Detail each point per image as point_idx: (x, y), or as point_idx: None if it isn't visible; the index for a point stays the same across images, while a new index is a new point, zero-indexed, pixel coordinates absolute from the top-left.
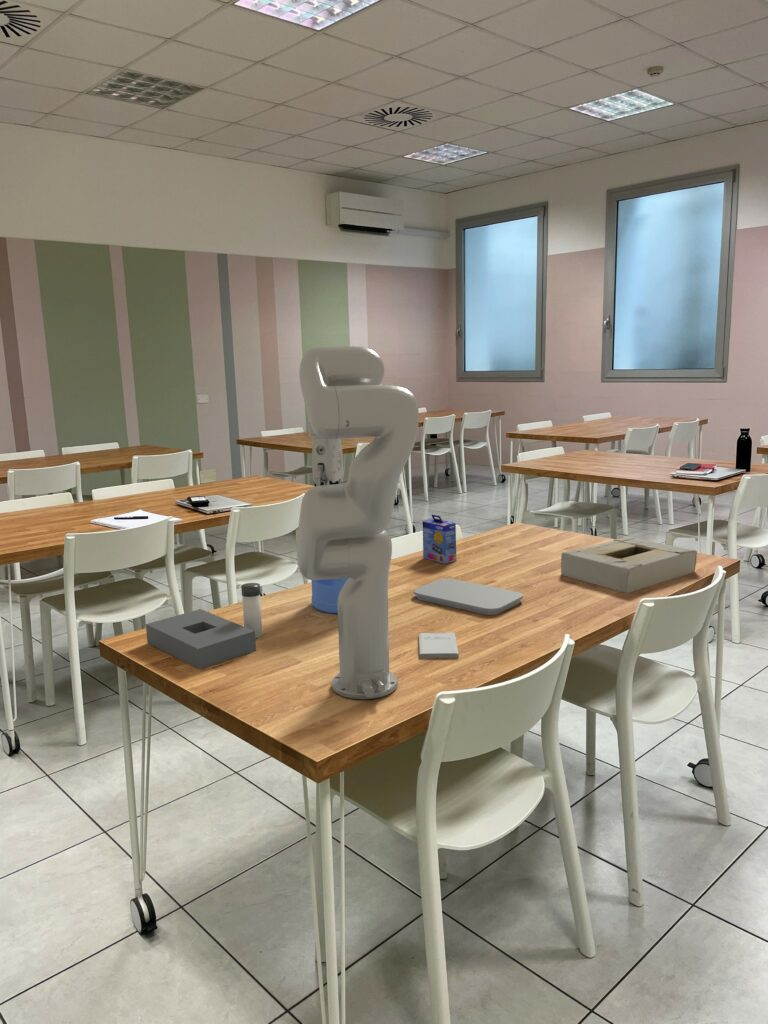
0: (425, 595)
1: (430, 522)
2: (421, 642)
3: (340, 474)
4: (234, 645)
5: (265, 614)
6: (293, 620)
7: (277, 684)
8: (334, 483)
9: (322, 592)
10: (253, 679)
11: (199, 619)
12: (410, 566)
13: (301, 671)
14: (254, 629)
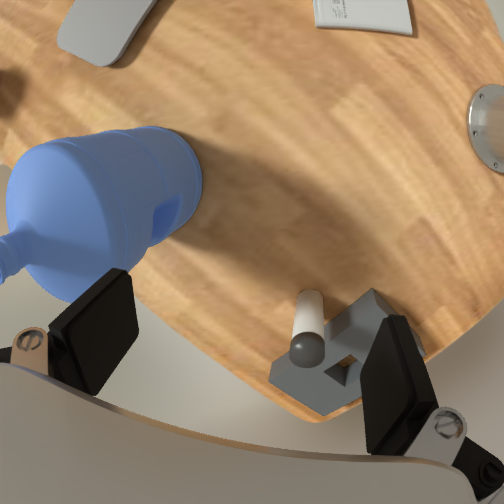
0: (127, 40)
1: None
2: (363, 24)
3: (116, 462)
4: None
5: (213, 295)
6: (238, 251)
7: (481, 241)
8: (65, 367)
9: (182, 218)
10: (462, 272)
11: (313, 376)
12: (6, 119)
13: (453, 214)
14: (322, 304)
